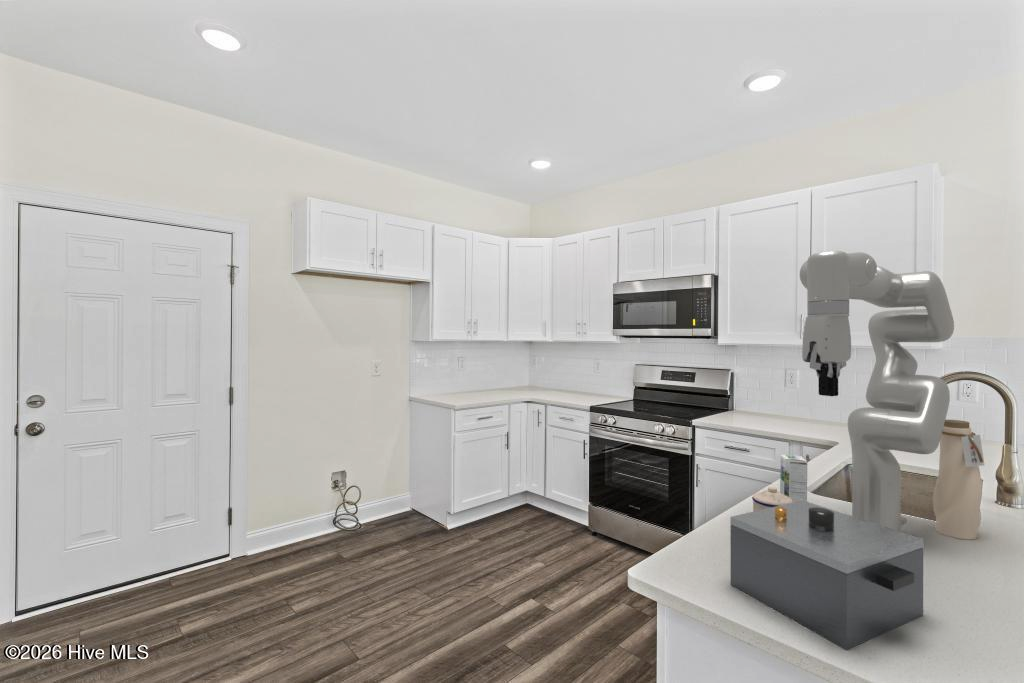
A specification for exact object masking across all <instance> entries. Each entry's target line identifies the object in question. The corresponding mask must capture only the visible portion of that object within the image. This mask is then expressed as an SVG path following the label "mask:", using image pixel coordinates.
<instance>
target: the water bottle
mask: <svg viewBox="0 0 1024 683" xmlns="http://www.w3.org/2000/svg"><path fill="white" fill-rule="evenodd" d="M938 465H939V466H938V475H937V477H936V481H935V486H934V490H933V495H932V508H933V512H934V516H935V519H936V521H935V526H934V530H935V531H936V532H937V533H939V534H941V535H944V536H946V537H951V538H954V539H960V540H976V539H977V538H978V532H979V529H980V525H981V519H982V516H981V515H982V512H981V504H982V498H983V484H982V477H981V471H980V466H981V467H982V466H985V459H984V453H983V446H982V441H981V435H980V434H976V433H975V432H973V431H972V428H971V427H970V421H966V420H960V419H959V420H958V419H945V423H944V427H943V431H942V435H941V439H940V442H939V463H938Z"/></svg>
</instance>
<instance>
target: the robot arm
mask: <svg viewBox="0 0 1024 683" xmlns="http://www.w3.org/2000/svg"><path fill="white" fill-rule="evenodd" d="M799 280H800V282H801V284H802V286H803V287H804V288H805V289H806V290H807V292H806V293H807V295H806V296H807V298H806V301H807V302H806V304H807V305H806V306H807V314H806V315H807V316H806V317H805V322H804V327H803V333H802V334H803V336H802V348H801V350H802V354H801V356H802V361H804V362H805V363H809V368H810V369H811V370H814V371H815V372H816V376H817V377H818V395H820V396H824V397H837V396H839V378H840V376H841V370H842V369H843V368H845V367H847V362H848V361H849V360H851V357H852V336H851V326H850V325H851V324H850V320H849V319H850V318H849V317H850V300H861V301H864V302H866V303H869V304H870V305H874V306H877V307H879V308H883V309H885V308H886V309H887V308H890V309H892V308H894V309H893V310H883V311H880V312H876V313H874V314H873V315H872V316H871V317H870V318H869V320H868V327H867V328H868V334H869V338H870V342H871V345H872V346H871V347H872V348H873V352H874V355H875V363H874V367H873V369H872V372H871V375H870V378H869V381H868V384H867V388H866V393H865V400H866V402H867V403H868V405H869V406H871V407H859V408H856V409H854V410H852V412H850V413H849V415H848V419H847V431H848V435H849V440H850V446H851V464H852V465H851V467H852V469H851V474H852V475H851V479H852V480H851V488H852V489H851V495H852V497H851V505H852V507H851V509H852V511H851V516H853V517H856V518H859V519H863V520H866V521H869V522H872V523H875V524H878V525H881V526H885V527H888V528H891V529H894V530H897V531H900V532H902V530H901V527H902V526H904V525H907V523H908V519H907V518H906V517H905V516H901V514H902V510H901V509H902V506H901V505H902V499H901V498H902V496H901V495H902V470H901V465H900V463H899V461H898V460H897V458H896V457H895V455H894V454H893V452H891V451H898V452H904V453H905V452H906V453H910V454H911V453H912V454H917V455H930V454H931V455H932V453H934V452H935V451H936V450H937V449H938V448H939V446H940V439H941V435H942V431H943V427H944V423H945V420H947V415H948V412H949V406H950V398H951V397H950V396H951V395H950V389H949V386H948V383H947V382H946V381H945V380H944V379H942V378H940V377H938V376H934V375H926V374H925V375H924V374H917V370H918V366H919V365H918V362H917V360H916V359H915V357H914V356H913V355H912V353H911V352H909V350H907V348H905V347H903V345H901V344H900V343H942V342H945V341H946V342H947V341H948V340H949V339H950V338H951V337H952V336H953V334H954V331H955V320H954V317H953V313H952V310H951V307H950V306H951V304H950V302H949V298H948V295H947V292H946V289H945V286H944V284H943V282H942V279H940V277H939V275H937V274H936V273H935V272H932V271H928V270H926V271H915V272H904V273H895V272H892V271H890V270H889V269H887V268H885V267H884V266H879V265H877V261H875V259H874V257H872V256H871V255H870V254H868V253H865V252H857V251H856V252H848V253H847V252H845V251H841V250H830V251H822V252H821V251H819V252H816V253H812V254H811V255H809V256H808V258H807V260H805V261H804V262H803V263H802V265H801V266H800V269H799ZM913 307H924V308H915V309H912V308H913ZM895 308H896V309H895ZM898 308H911V309H898Z"/></svg>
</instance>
